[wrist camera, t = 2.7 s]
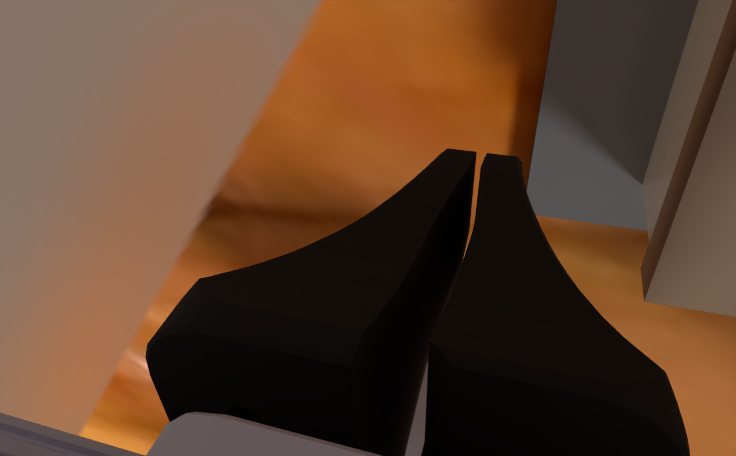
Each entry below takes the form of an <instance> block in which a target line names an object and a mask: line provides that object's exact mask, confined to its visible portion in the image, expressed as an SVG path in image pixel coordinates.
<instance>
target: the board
mask: <svg viewBox="0 0 736 456" xmlns="http://www.w3.org/2000/svg"><path fill="white" fill-rule="evenodd" d="M698 1H699V0H557V5H556V11H555V17H554V23H553V30H552V36H551V42H550V48H549V55H548V61H547V67H546V73H545V79H544V86H543V92H542V98H541V104H540V111H539V117H538V123H537V129H536V135H535V142H534V148H533V154H532V160H531V167H530V173H529V179H528V185H527V194H528V197H529V200H530V203H531V205H532V208H533V210H534V213H535V215H540V216H547V217H554V218H561V219H568V220H575V221H582V222H589V223H596V224H603V225H610V226H617V227H624V228H631V229H638V230H645V231H648V229H647V221H646V213H645V205H644V197H643V188H642V183H643V180H644V177H645V174H646V170H647V167H648V164H649V161H650V157H651V154H652V151H653V148H654V144H655V141H656V138H657V135H658V131H659V128H660V125H661V121H662V118H663V115H664V112H665V108H666V105H667V102H668V99H669V95H670V92H671V89H672V86H673V82H674V79H675V76H676V73H677V69H678V66H679V63H680V59H681V56H682V53H683V50H684V46H685V43H686V40H687V37H688V33H689V30H690V27H691V24H692V20H693V17H694V14H695V11H696V7H697V4H698Z"/></svg>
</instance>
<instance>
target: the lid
mask: <svg viewBox="0 0 736 456" xmlns="http://www.w3.org/2000/svg"><path fill="white" fill-rule="evenodd" d="M641 274H642V284H643V294H644V301H645V302H651V303H657V304H663V305H669V306H675V307H680V308H686V309H692V310H698V311H704V312H709V313H715V314H721V315H727V316H733V317H736V0H732V2H731V5H730V8H729V11H728V14H727V17H726V20H725V23H724V26H723V29H722V32H721V35H720V38H719V40H718V43H717V46H716V49H715V52H714V55H713V58H712V61H711V64H710V67H709V70H708V73H707V76H706V79H705V82H704V84H703V87H702V90H701V93H700V96H699V99H698V102H697V105H696V108H695V111H694V114H693V117H692V120H691V123H690V126H689V128H688V131H687V134H686V137H685V140H684V143H683V146H682V149H681V152H680V155H679V158H678V161H677V164H676V167H675V169H674V172H673V175H672V178H671V181H670V184H669V187H668V190H667V193H666V196H665V199H664V202H663V205H662V208H661V211H660V213H659V216H658V219H657V222H656V225H655V228H654V231H653V234H652V237H651V240H650V243H649V246H648V249H647V252H646V255H645V257H644V260H643V263H642V266H641Z"/></svg>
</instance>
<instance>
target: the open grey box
mask: <svg viewBox="0 0 736 456" xmlns="http://www.w3.org/2000/svg"><path fill="white" fill-rule="evenodd" d="M731 2H732V0H699V1H698V4H697V7H696V11H695V14H694V17H693V20H692V24H691V27H690V30H689V33H688V37H687V40H686V43H685V46H684V50H683V53H682V56H681V59H680V63H679V66H678V69H677V73H676V76H675V79H674V82H673V86H672V89H671V92H670V95H669V99H668V102H667V105H666V108H665V112H664V115H663V118H662V121H661V125H660V128H659V131H658V135H657V138H656V141H655V144H654V148H653V151H652V154H651V157H650V161H649V164H648V167H647V170H646V174H645V177H644V180H643V183H642V188H643V197H644V205H645V213H646V221H647V229H648V237H649V243H650V240H651V237H652V234H653V231H654V228H655V225H656V222H657V219H658V216H659V213H660V211H661V208H662V205H663V202H664V199H665V196H666V193H667V190H668V187H669V184H670V181H671V178H672V175H673V172H674V169H675V167H676V164H677V161H678V158H679V155H680V152H681V149H682V146H683V143H684V140H685V137H686V134H687V131H688V128H689V126H690V123H691V120H692V117H693V114H694V111H695V108H696V105H697V102H698V99H699V96H700V93H701V90H702V87H703V84H704V82H705V79H706V76H707V73H708V70H709V67H710V64H711V61H712V58H713V55H714V52H715V49H716V46H717V43H718V40H719V38H720V35H721V32H722V29H723V26H724V23H725V20H726V17H727V14H728V11H729V8H730V5H731Z"/></svg>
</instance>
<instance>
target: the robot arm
mask: <svg viewBox="0 0 736 456" xmlns="http://www.w3.org/2000/svg"><path fill="white" fill-rule="evenodd" d="M475 163H476V152H473V151H464V150H456V149H446V150H445V151H443V152H442V153H441V154H440V155H439V156H438V157H437V158H436V159H435V160H434V161H432V162H431V163H430V164H429V165H428V166H427V167H426V168H425V169H424V170H423V171H422V172H421V173H419V174H418V175H417V176H416V177H415V178H414V179H413V180H411V181H410V182H409V183H408V184H407V185H405V186H404V187H403V188H402V189H401V190H399V191H398V192H397V193H396V194H394V195H393V196H392V197H390V198H389V199H388V200H386V201H385V202H384V203H382V204H381V205H380V206H378V207H377V208H375V209H374V210H373V211H371V212H370V213H368V214H367V215H365V216H364V217H362V218H361V219H359V220H357V221H355V222H354V223H352V224H350V225H348V226H347V227H345V228H343V229H341V230H339V231H338V232H336V233H334V234H332V235H329V236H327V237H325V238H323V239H321V240H318V241H316V242H314V243H312V244H310V245H308V246H305V247H303V248H301V249H298V250H296V251H293V252H291V253H288V254H285V255H283V256H280V257H277V258H274V259H271V260H268V261H265V262H262V263H259V264H256V265H252V266H249V267H245V268H242V269H238V270H234V271H230V272H226V273H222V274H218V275H214V276H210V277H205V278H200V279H199V280H198V281H197V282H196V283H195V284H194V285H193V286H192V288H191V289H190V290H189V291H188V292H187V293H186V294H185V296H184V297H183V298H182V299H181V301H180V302H179V303H178V305H177V306H176V307H175V308H174V310H173V311H172V312H171V314H170V315H169V316H168V318H167V319H166V320H165V322H164V323H163V324H162V326H161V327H160V328H159V329H158V331H157V332H156V333H155V335H154V336H153V337H152V339H151V340H150V341H149V343H148V344H147V350H146V361H147V365H148V369H149V372H150V376H151V378H152V381H153V383H154V386H155V388H156V390H157V393H158V395H159V397H160V400H161V402H162V405H163V407H164V409H165V412H166V414H167V416H168V419H169V421H170V422H169V423H168V424H167V425H166V426H165V428H164V429H163V431H162V432H161V434H160V435H159V437H158V438H157V440H156V441H155V443H154V444H153V446H152V447H151V449H150V451H149V452H148V454H147V455H146V456H690V451H689V444H688V439H687V434H686V430H685V427H684V423H683V420H682V417H681V413H680V410H679V407H678V404H677V401H676V398H675V395H674V392H673V390H672V387H671V384H670V382H669V379H668V377H667V374H666V373H665V371H664V370H663V369H661V368H660V367H659V366H658V365H657V364H655V363H654V362H653V361H652V360H651V359H649V358H648V357H647V356H646V355H644V354H643V353H642V352H641V351H640V350H638V349H637V348H636V347H635V346H634V345H632V344H631V343H630V342H629V341H628V340H626V339H625V338H624V337H623V336H622V335H621V334H620V333H619V332H618V331H617V330H616V329H615V328H614V327H613V326H612V325H610V324H609V323H608V322H607V321H606V320H605V319H604V318H603V317H602V316H601V315H600V313H599V312H598V311H597V310H596V309H595V308H594V306H593V305H592V304H591V303H590V302H589V301H588V299H587V298H586V297H585V296H584V295H583V294H582V293H581V291H580V290H579V289H578V288H577V286H576V285H575V283H574V282H573V281H572V279H571V278H570V276H569V275H568V274H567V272H566V271H565V269H564V268H563V266H562V265H561V263H560V262H559V260H558V259H557V257H556V255H555V254H554V252H553V250H552V248H551V247H550V245H549V243H548V241H547V239H546V237H545V235H544V233H543V231H542V229H541V227H540V225H539V223H538V220H537V218H536V216H535V213H534V210H533V208H532V205H531V203H530V200H529V197H528V194H527V191H526V187H525V184H524V179H523V174H522V162H521V161H520V159H519V158H518V157H515V156H507V155H498V154H490V153H487V154H486V156H485V158H484V161H483V163H482V166H481V171H480V180H479V189H478V198H477V207H476V216H475V222H474V227H473V232H472V235H471V238H470V241H469V244H468V247H467V250H466V254H465V257H464V252H465V248H466V243H467V239H468V234H469V228H470V217H471V206H472V196H473V185H474V174H475ZM463 257H464V259H463ZM462 261H463V262H462ZM0 456H145V455H141V454H138V453H135V452H131V451H128V450H124V449H121V448H118V447H114V446H111V445H107V444H104V443H101V442H97V441H94V440H91V439H87V438H84V437H80V436H77V435H73V434H70V433H67V432H63V431H60V430H56V429H53V428H50V427H47V426H43V425H40V424H36V423H33V422H30V421H26V420H23V419H19V418H16V417H12V416H9V415H6V414H2V413H0Z"/></svg>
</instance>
